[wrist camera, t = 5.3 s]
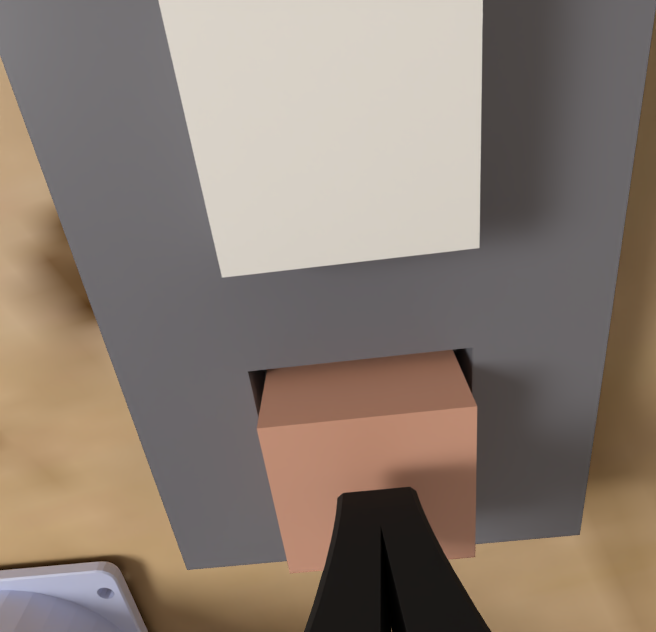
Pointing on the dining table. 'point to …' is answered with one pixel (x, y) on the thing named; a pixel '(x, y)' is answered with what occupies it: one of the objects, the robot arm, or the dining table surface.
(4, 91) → the dining table surface
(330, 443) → the terracotta key
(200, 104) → the cream key
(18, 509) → the dining table surface
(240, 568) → the dining table surface
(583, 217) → the keypad
